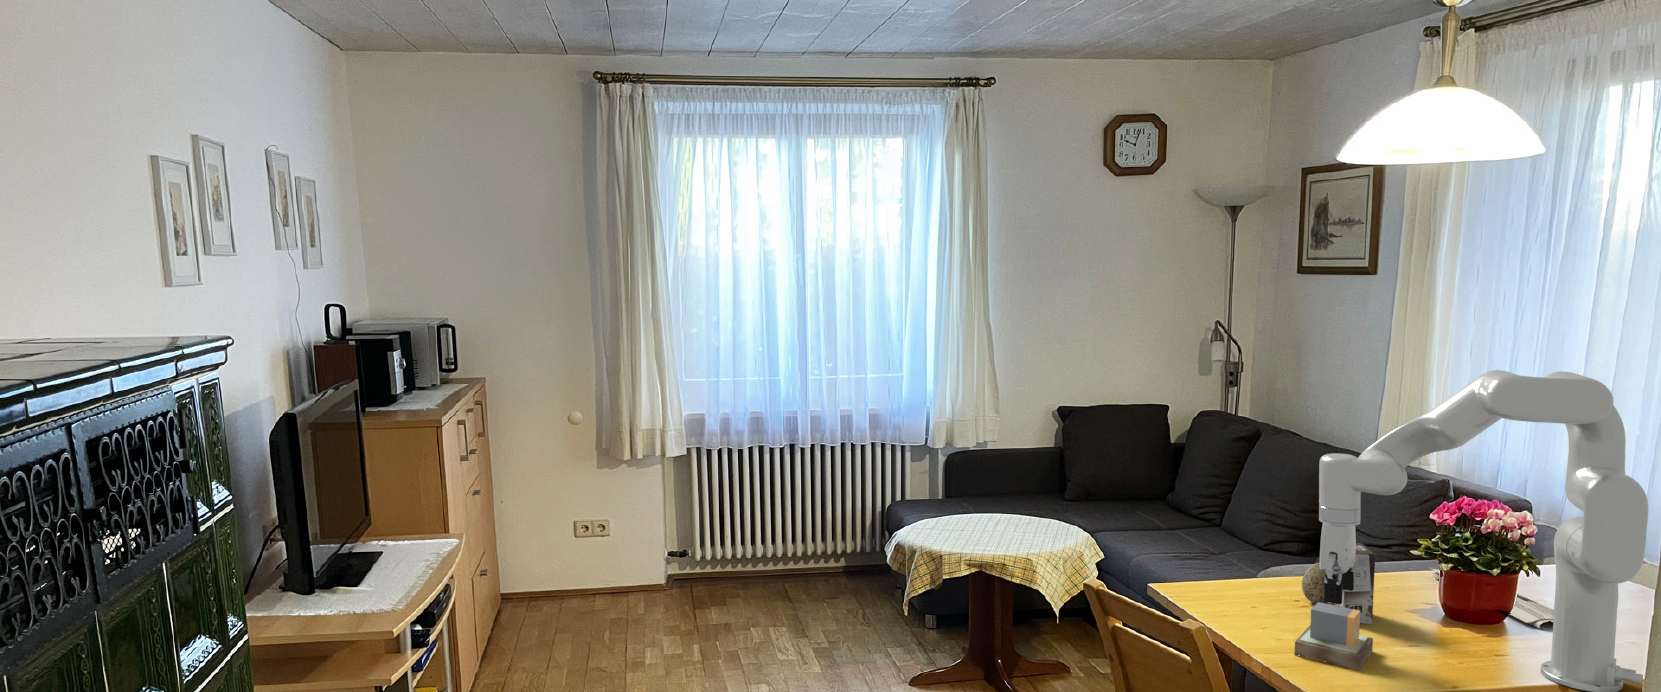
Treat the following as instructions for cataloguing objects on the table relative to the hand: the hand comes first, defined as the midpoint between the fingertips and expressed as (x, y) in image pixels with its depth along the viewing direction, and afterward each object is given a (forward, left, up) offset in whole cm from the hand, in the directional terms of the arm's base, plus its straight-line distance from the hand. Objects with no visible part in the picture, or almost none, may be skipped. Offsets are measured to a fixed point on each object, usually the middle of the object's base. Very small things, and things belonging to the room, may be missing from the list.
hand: (1339, 595), depth 200 cm
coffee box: (+3, -25, -13) cm, 28 cm away
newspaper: (-22, -57, -13) cm, 62 cm away
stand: (+1, 0, -12) cm, 12 cm away
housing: (+1, 0, -9) cm, 9 cm away
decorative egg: (+11, -29, -13) cm, 33 cm away
